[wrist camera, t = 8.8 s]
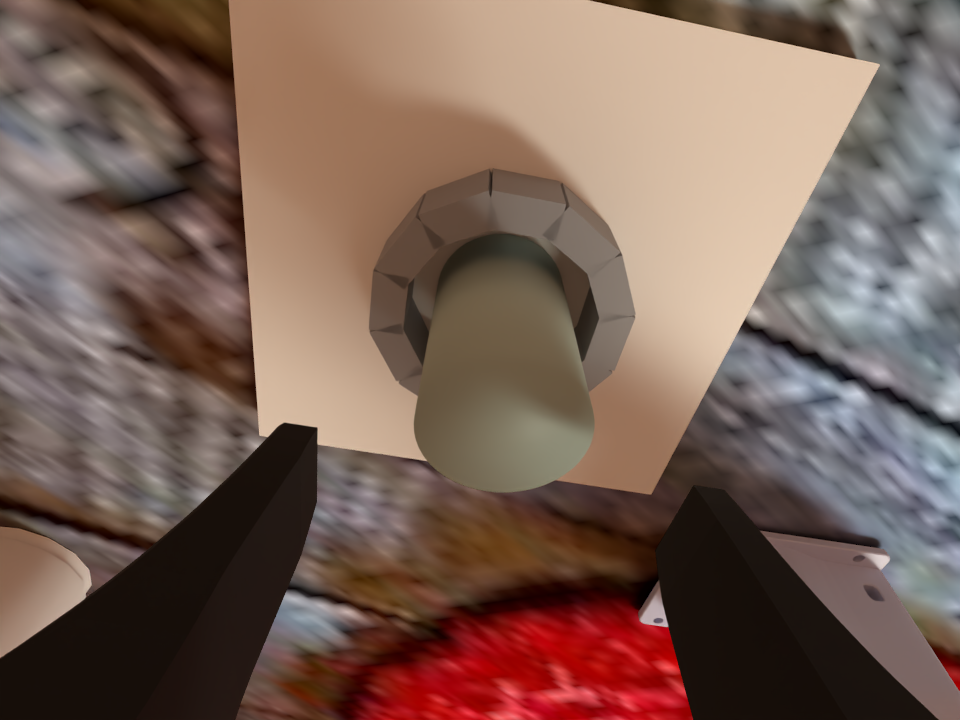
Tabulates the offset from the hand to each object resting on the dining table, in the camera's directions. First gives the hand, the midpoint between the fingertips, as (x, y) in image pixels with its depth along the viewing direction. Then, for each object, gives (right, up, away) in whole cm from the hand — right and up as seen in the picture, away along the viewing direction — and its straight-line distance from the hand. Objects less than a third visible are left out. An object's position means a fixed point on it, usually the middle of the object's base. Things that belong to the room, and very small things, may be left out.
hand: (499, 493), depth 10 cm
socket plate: (0, +5, +8) cm, 9 cm away
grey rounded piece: (0, +5, +7) cm, 8 cm away
